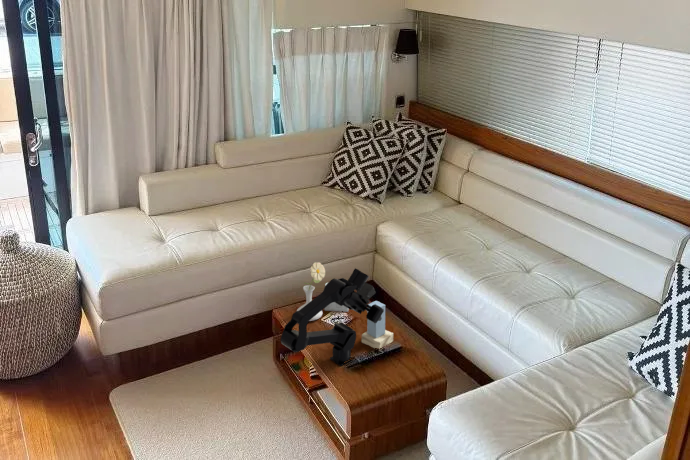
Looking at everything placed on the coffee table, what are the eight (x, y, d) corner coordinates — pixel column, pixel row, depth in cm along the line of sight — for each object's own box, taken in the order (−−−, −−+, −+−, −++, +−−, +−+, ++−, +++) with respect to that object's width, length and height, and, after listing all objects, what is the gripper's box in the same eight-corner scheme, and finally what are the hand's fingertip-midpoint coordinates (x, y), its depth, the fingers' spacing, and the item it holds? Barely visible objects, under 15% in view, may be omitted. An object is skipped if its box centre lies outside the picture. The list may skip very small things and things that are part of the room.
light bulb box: (349, 304, 299) (350, 282, 295) (348, 312, 293) (348, 290, 288) (325, 303, 300) (325, 281, 295) (323, 311, 294) (323, 289, 289)
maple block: (379, 351, 266) (379, 342, 264) (361, 343, 271) (361, 334, 269) (393, 341, 272) (393, 333, 271) (375, 334, 277) (375, 325, 276)
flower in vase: (302, 325, 282) (301, 272, 272) (291, 313, 291) (290, 261, 282) (330, 318, 288) (330, 265, 278) (319, 306, 297) (318, 255, 287)
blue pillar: (376, 338, 267) (376, 309, 262) (367, 333, 270) (367, 304, 265) (385, 333, 270) (385, 304, 265) (376, 329, 273) (376, 300, 268)
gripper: (380, 289, 248) (400, 306, 259) (346, 272, 261) (366, 288, 272) (364, 315, 246) (385, 331, 257) (331, 296, 259) (352, 312, 270)
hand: (372, 314), depth 264 cm, fingers open, 9 cm apart
